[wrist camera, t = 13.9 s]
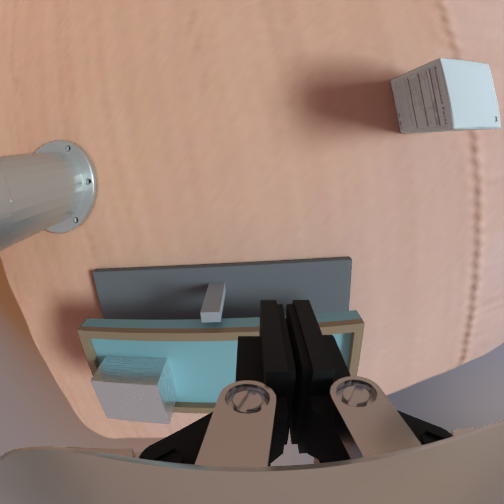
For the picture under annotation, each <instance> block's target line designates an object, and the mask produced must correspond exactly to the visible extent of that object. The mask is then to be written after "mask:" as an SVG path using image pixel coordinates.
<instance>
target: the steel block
mask: <svg viewBox="0 0 504 504" xmlns="http://www.w3.org/2000/svg"><path fill="white" fill-rule="evenodd" d="M90 381H91V383H92V385H93V388H94V390H95V392H96V395H97V397H98V399H99V401H100V403H101V406H102V408H103V410H104V412H105V414H106V416H107V418H112V419H120V420H128V421H138V422H149V423H162V424H170V421H171V417H172V413H173V410H174V406H175V403H176V399H177V393H176V389H175V385H174V382H173V378H172V374H171V370H170V366H169V362H168V358H155V357H124V356H106V357H105V358H104V360H103V361H102V363H101V364H100V366H99V368H98V369H97V371H96V372H95V374H94V375H93V377H92V379H91V380H90Z"/></svg>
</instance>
